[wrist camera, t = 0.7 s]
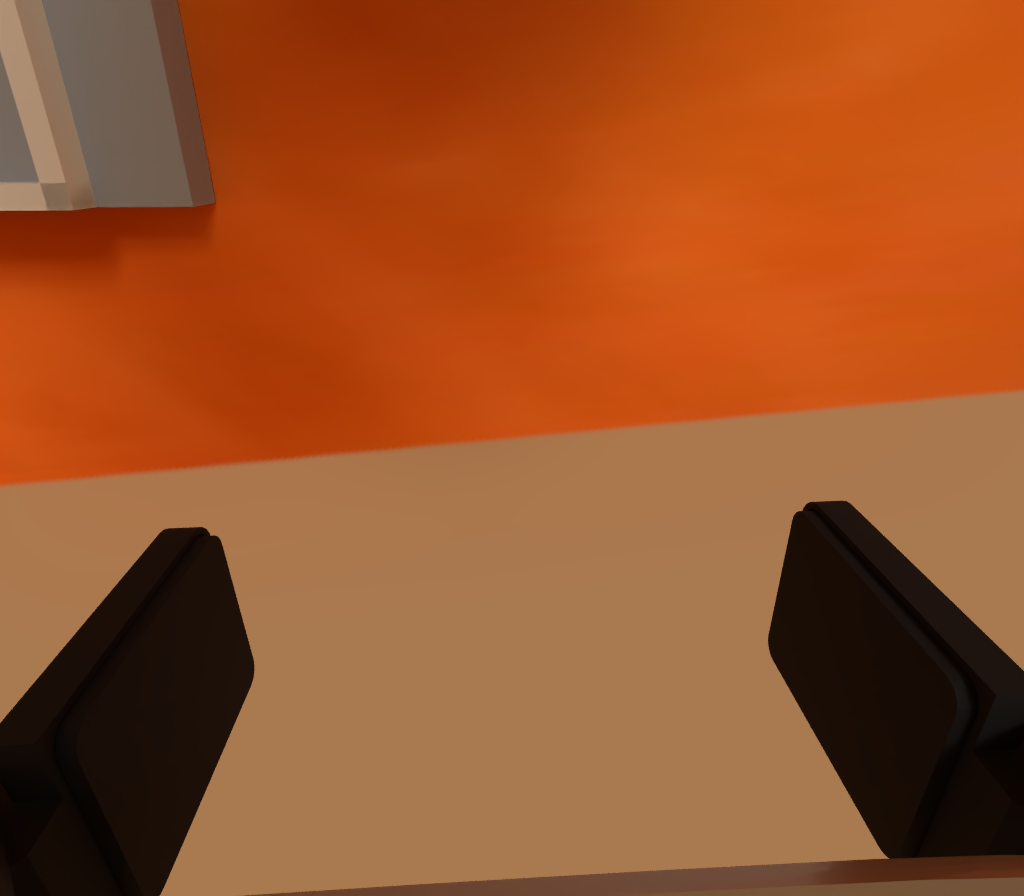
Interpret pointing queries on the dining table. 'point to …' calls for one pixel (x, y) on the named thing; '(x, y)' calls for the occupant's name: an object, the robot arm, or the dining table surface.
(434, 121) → the dining table surface
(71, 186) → the dock
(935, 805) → the robot arm
